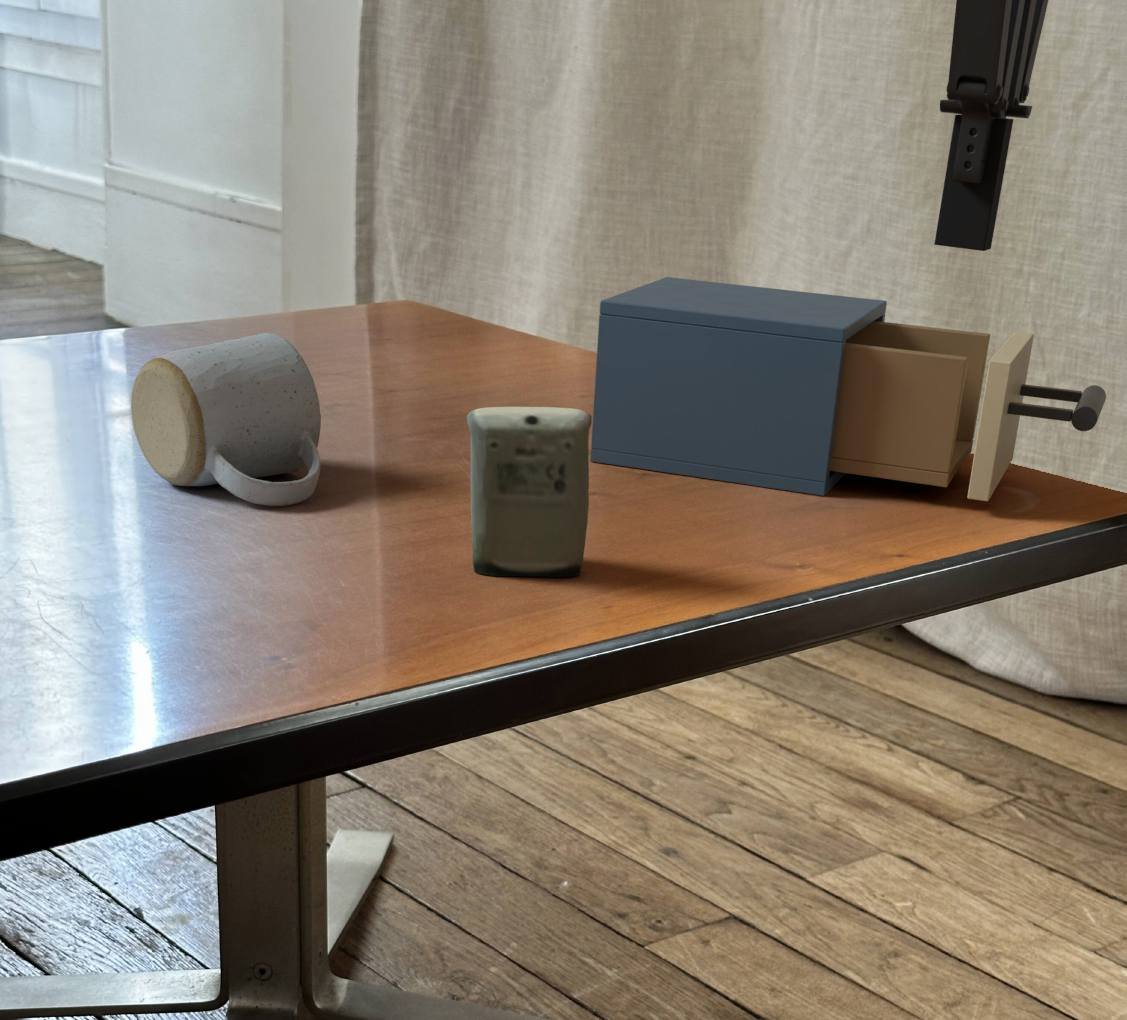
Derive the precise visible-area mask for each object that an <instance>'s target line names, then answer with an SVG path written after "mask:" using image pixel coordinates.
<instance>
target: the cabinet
mask: <svg viewBox="0 0 1127 1020" xmlns="http://www.w3.org/2000/svg"><path fill="white" fill-rule="evenodd" d="M887 303H888V302H887V300H883V299H872V298H865V297H864V298H863V297H855V296H844V295H835V294H828V293H827V294H826V293H817V292H809V291H799V290H789V289H779V288H772V287H761V286H754V285H743V284H734V283H725V282H716V281H708V280H707V281H706V280H699V279H698V280H697V279H687V278H678V277H669V276H666V277H665V276H664V277H662V278H660V279H658V280H654V281H652V282H649V283H647V284H643V285H641V286H637V287H635V288H632V289H630V290H626V291H624V292H622V293H621V292H620V293H619V294H615V295H613V296H609V297H608V298H605V299H602V300H600V301H599V315H598V330H597V345H596V359H595V360H596V361H595V377H594V395H593V411H592V412H593V413H592V424H591V427H592V428H591V441H590V442H591V443H590V457H589V462H592V463H598V464H605V465H612V466H619V467H626V468H633V469H639V470H645V471H652V472H659V473H665V474H671V475H680V476H686V477H693V478H700V479H706V480H714V481H720V482H728V483H733V484H740V485H741V484H742V485H746V486H753V487H760V488H761V487H762V488H768V489H774V490H781V491H788V492H794V493H799V494H800V493H801V494H807V495H814V496H822V497H824V496H825V495H827V494H828V492H829V491H831V490H832V488H834V486H835V485H836V484H837V483H838V482H839V481H841V479H842V478H843V477H844V476H845V475H847V473H842V472H835V471H830V465H831V457H832V449H833V441H834V433H835V424H836V416H837V408H838V400H839V392H840V384H841V376H842V368H843V360H844V352H845V344H846V340H847V339H849V338H850V337H851V336H853V335H854V334H856V333H857V332H859V331H860V330H862V329H863V328H865V327H866V326H867V325H869V324H870V323H872V322H873V321H880V322H886V312H887V305H888V304H887Z"/></svg>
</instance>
